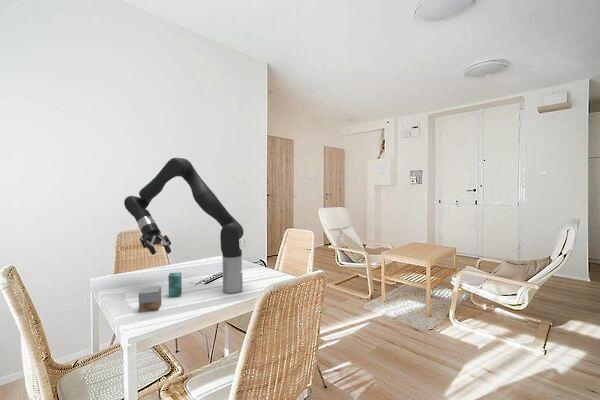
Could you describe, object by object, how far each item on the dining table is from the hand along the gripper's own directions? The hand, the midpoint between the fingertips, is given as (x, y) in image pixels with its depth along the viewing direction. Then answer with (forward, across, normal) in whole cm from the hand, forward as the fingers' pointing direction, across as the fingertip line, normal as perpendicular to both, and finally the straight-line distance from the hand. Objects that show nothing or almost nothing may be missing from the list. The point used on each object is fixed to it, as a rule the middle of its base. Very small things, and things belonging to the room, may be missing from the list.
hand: (162, 253), depth 132 cm
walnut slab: (+22, -11, +8) cm, 26 cm away
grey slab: (+20, -12, +5) cm, 23 cm away
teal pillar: (+19, +3, +7) cm, 21 cm away
